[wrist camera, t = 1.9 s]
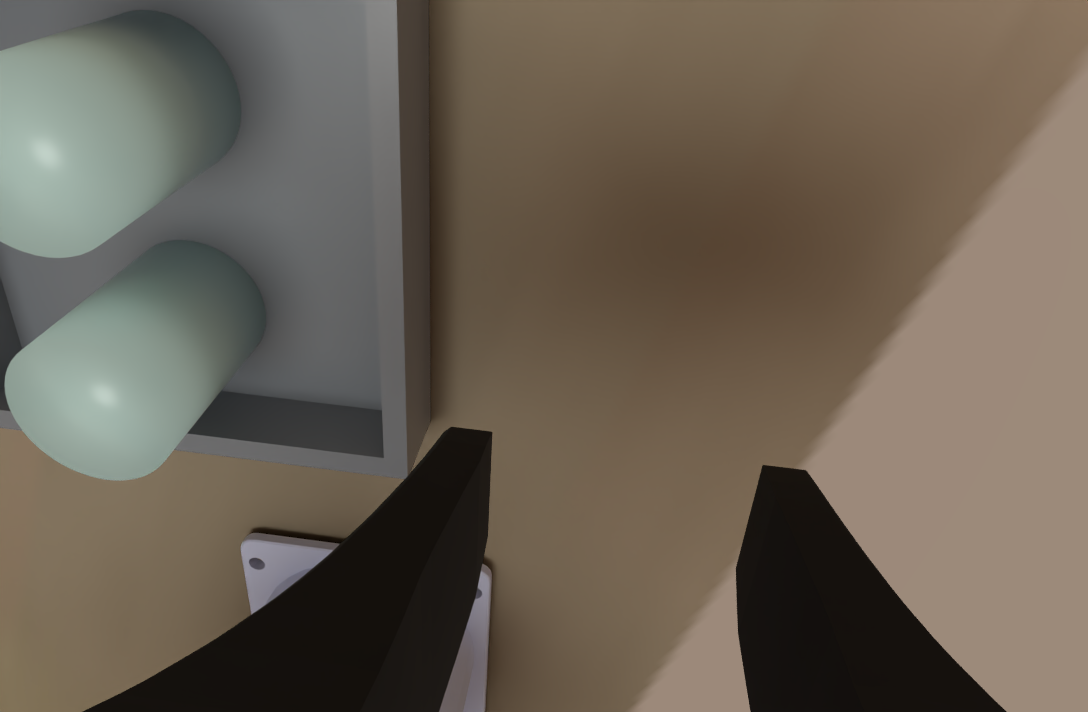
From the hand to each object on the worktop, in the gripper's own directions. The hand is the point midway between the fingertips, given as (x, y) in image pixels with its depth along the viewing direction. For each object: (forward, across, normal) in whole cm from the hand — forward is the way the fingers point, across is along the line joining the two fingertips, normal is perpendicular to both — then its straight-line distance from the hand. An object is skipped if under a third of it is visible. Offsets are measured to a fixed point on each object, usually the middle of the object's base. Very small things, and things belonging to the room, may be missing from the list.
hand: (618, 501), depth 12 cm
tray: (+9, +11, 0) cm, 14 cm away
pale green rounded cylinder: (+9, +11, +3) cm, 14 cm away
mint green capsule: (+9, +11, -3) cm, 14 cm away
